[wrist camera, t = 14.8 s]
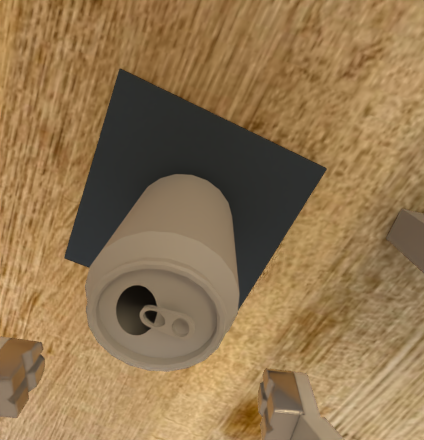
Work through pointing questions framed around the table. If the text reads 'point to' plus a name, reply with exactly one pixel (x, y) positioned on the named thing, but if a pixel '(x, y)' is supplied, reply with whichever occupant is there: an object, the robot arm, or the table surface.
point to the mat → (189, 173)
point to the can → (166, 277)
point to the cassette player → (409, 236)
